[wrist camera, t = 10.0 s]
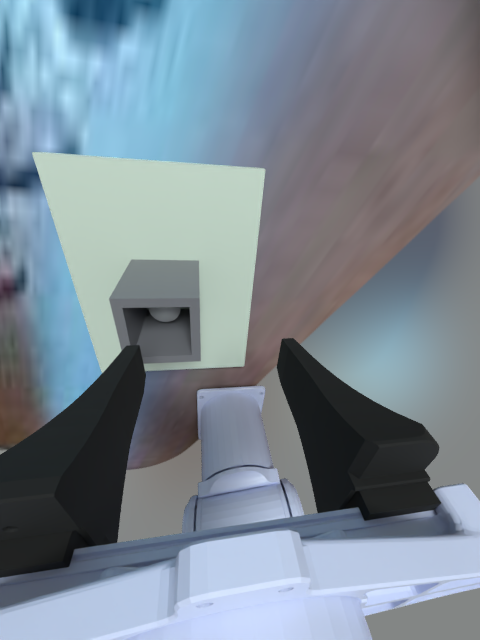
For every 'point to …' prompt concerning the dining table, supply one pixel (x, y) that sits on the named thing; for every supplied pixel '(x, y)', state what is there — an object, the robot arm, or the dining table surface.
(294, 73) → the dining table surface
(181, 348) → the duct sleeve
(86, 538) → the robot arm
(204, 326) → the duct base
